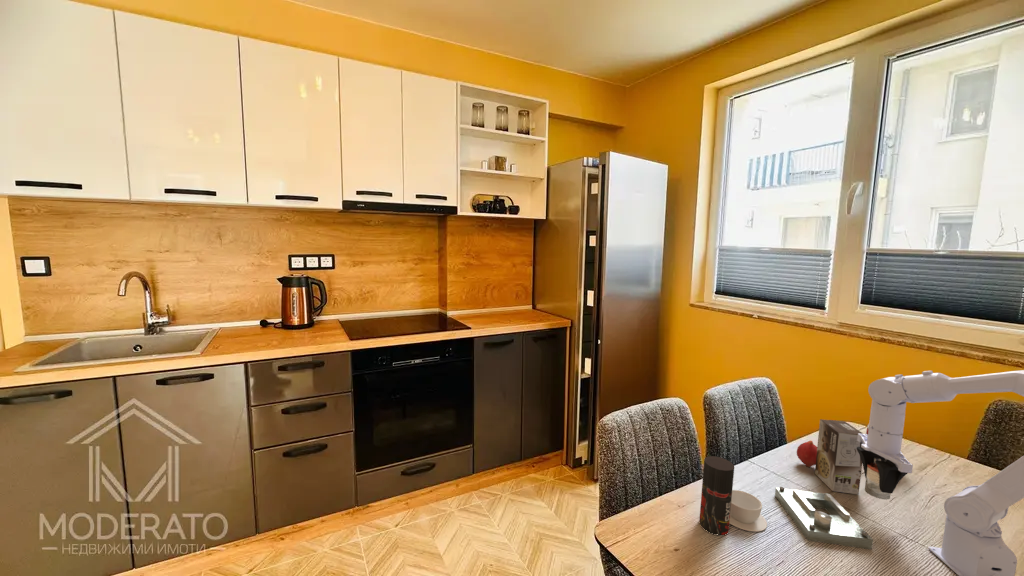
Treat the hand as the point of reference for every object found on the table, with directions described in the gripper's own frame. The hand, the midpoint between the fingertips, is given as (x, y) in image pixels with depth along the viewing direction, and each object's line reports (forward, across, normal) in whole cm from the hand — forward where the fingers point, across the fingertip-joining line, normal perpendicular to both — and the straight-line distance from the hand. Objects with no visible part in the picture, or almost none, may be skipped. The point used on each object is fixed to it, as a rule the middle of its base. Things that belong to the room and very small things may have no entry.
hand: (878, 485), depth 93 cm
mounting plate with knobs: (+8, +3, -13) cm, 16 cm away
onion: (+9, -23, -3) cm, 25 cm away
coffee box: (+9, -15, 0) cm, 17 cm away
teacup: (+9, +6, -31) cm, 32 cm away
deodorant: (+9, +11, -38) cm, 40 cm away
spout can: (+2, 0, 0) cm, 2 cm away
